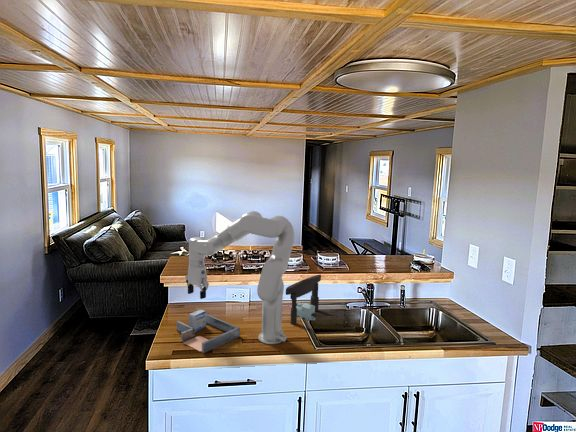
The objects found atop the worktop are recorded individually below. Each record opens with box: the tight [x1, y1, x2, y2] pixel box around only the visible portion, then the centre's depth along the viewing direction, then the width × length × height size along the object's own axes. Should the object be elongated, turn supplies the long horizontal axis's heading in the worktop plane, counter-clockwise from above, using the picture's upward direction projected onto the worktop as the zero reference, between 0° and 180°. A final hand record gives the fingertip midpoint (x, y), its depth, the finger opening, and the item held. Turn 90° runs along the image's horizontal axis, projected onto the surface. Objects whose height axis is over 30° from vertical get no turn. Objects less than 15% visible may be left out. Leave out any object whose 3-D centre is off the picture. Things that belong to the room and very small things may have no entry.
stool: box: [285, 274, 322, 325], centre depth 221 cm, size 16×21×33 cm
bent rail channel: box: [176, 313, 241, 354], centre depth 196 cm, size 28×22×4 cm
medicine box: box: [188, 309, 207, 333], centre depth 203 cm, size 8×4×9 cm, turn 149°
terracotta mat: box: [182, 335, 209, 353], centre depth 188 cm, size 13×10×1 cm
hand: (196, 295), depth 201 cm, fingers open, 9 cm apart
